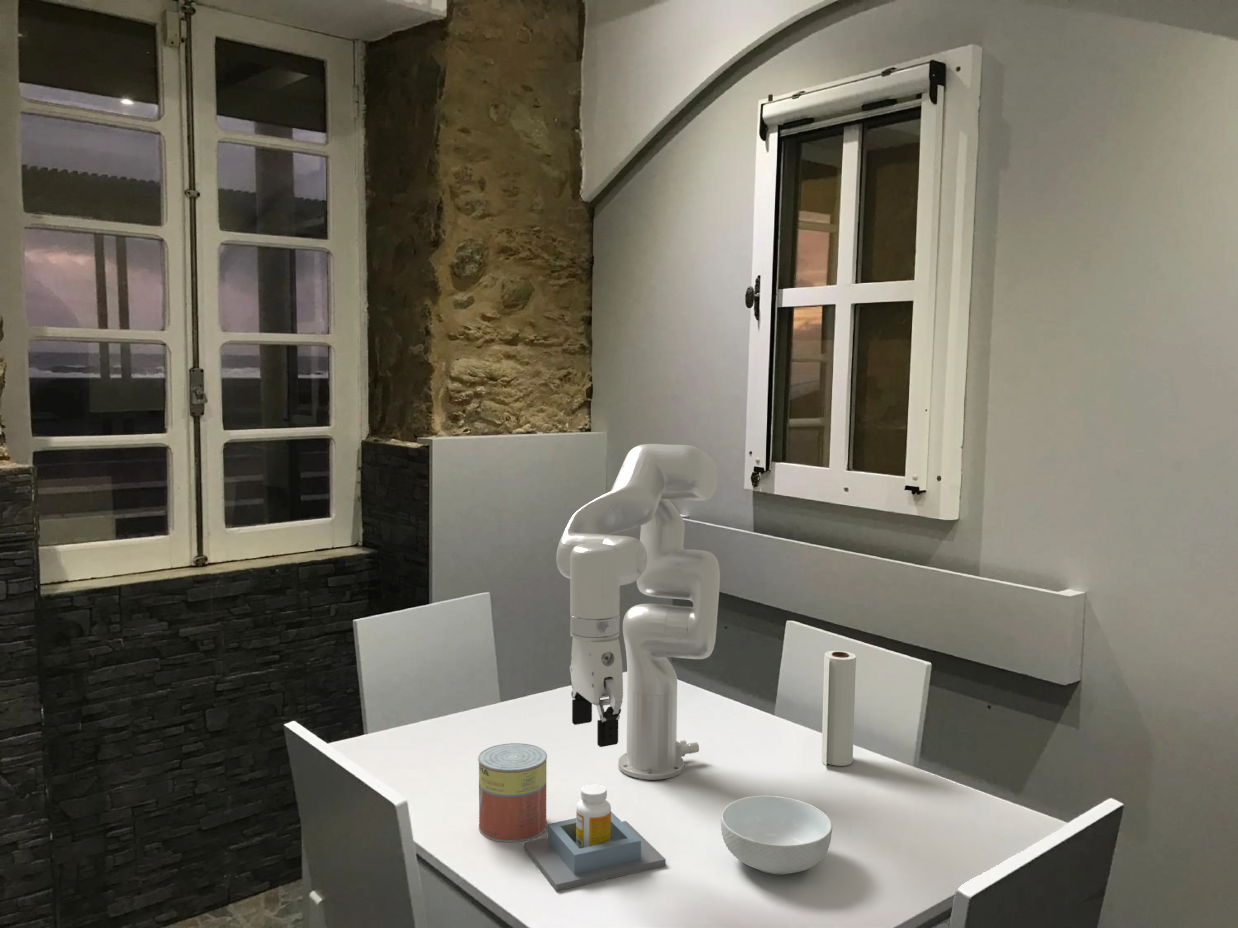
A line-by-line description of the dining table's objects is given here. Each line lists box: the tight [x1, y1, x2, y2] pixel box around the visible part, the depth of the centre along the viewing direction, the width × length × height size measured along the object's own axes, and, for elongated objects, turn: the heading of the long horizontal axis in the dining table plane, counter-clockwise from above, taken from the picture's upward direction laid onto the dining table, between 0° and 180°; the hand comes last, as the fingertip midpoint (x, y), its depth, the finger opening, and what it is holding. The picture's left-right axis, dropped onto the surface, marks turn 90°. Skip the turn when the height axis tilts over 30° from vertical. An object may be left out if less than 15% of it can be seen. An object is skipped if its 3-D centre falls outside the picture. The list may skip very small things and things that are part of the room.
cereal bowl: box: [720, 795, 833, 875], centre depth 149 cm, size 17×17×7 cm
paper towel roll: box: [821, 650, 857, 769], centre depth 188 cm, size 7×6×21 cm
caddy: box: [522, 811, 667, 892], centre depth 150 cm, size 18×14×4 cm
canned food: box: [477, 742, 548, 843], centre depth 160 cm, size 11×11×12 cm
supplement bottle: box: [575, 783, 612, 849], centre depth 151 cm, size 5×5×10 cm
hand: (594, 733), depth 149 cm, fingers open, 9 cm apart
